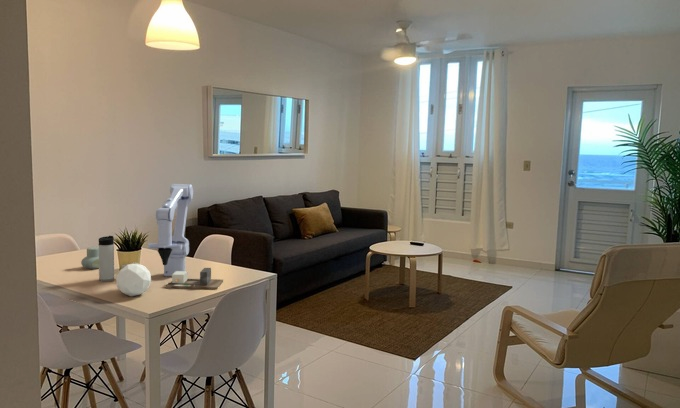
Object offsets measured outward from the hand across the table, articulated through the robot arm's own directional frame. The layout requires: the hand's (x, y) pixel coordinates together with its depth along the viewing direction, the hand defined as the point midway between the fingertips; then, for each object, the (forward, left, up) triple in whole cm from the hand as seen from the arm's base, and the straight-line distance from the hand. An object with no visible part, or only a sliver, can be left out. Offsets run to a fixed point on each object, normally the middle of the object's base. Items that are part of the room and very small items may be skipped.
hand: (165, 264), depth 227 cm
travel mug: (-27, +4, -9) cm, 29 cm away
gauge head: (+7, -1, -8) cm, 10 cm away
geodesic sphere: (-7, -17, -9) cm, 21 cm away
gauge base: (+14, 0, -9) cm, 16 cm away
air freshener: (-43, +26, -9) cm, 52 cm away
